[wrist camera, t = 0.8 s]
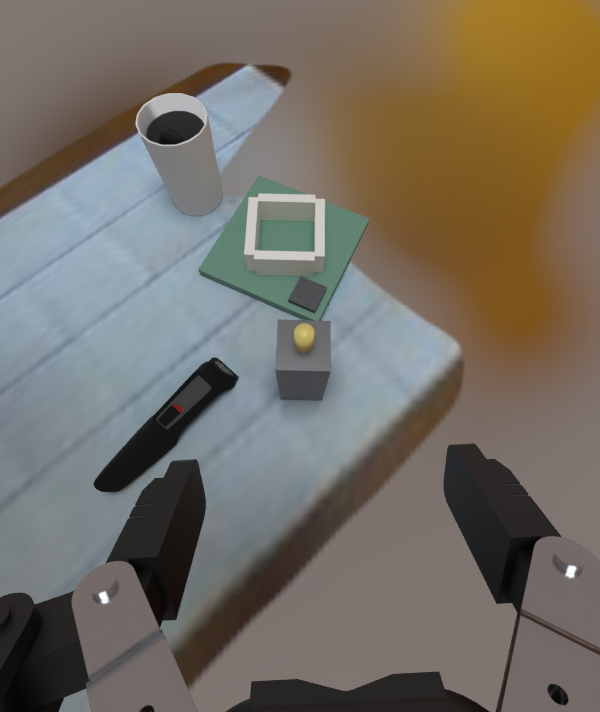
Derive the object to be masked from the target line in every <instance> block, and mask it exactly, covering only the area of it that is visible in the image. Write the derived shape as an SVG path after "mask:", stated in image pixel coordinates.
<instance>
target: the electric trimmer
mask: <svg viewBox="0 0 600 712" xmlns="http://www.w3.org/2000/svg"><path fill="white" fill-rule="evenodd" d="M237 379H238V376H237V375H236V374H235V373H234V372H233V371H231V370H230V369H229V368H228V367H227V366H226V365H225V364H224V363H223V362H221V361H220V360H219V359H218V358H212V359H211V360H210V361H208V362H205V363H203V364H202V365H201V366H200V367H199V368H198V369H197V370H196V371H195V372H194V373H193V374H192V375H191V376H190V377H189V378H188V379H187V380H186V381H185V382H184V383H183V385H182V386H181V387H180V388H179V389H178V390H177V391H176V392H175V393H174V394H173V395H172V396H171V398H170V399H169V400H168V401H167V402H166V403H165V404H164V405H163V406H162V407H161V408H160V409H159V410H158V411H157V412H156V413H155V414H154V415H153V416H152V417H151V418H150V419H149V420H148V421H147V422H146V423H145V424H144V425H143V426H142V427H141V428H140V429H139V430H138V431H137V433H136V434H135V435H134V436H133V437H132V438H131V439H130V440H129V441H128V442H127V444H126V445H125V446H124V447H123V448H122V449H121V450H120V451H119V452H118V454H117V455H116V456H115V457H114V458H113V459H112V460H111V461H110V462H109V464H108V465H107V466H106V467H105V468H104V469H103V471H102V472H101V473H100V474H99V476H98V477H97V478H96V480H95V481H94V487H95V488H96V489H97V490H99V491H101V492H117V491H119V490H121V489H123V488H124V487H125V486H126V485H128V484H129V483H130V482H132V481H133V480H134V479H135V478H136V477H138V476H139V475H140V474H141V473H143V472H144V471H145V470H146V469H147V468H149V467H150V466H151V465H152V464H153V463H155V462H156V461H157V460H158V459H159V458H161V457H162V456H163V455H164V454H165V453H166V452H168V451H169V450H170V449H171V448H172V447H173V446H174V445H175V444H176V443H177V440H178V437H179V435H180V433H181V432H182V430H183V429H184V428H185V427H186V426H187V425H188V424H189V423H190V422H191V421H192V420H193V419H194V418H195V417H196V416H197V415H198V414H199V413H200V412H201V410H202V409H203V408H204V407H205V406H206V405H207V404H208V403H209V402H211V401H212V400H213V399H214V398H215V397H216V396H217V395H218V394H219V393H221V392H222V391H224V390H227V389H230V388H231V387H233V386H234V385H235V381H236V380H237Z"/></svg>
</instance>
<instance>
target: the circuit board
mask: <svg viewBox="0 0 600 712" xmlns="http://www.w3.org/2000/svg"><path fill="white" fill-rule="evenodd" d="M258 193H263V194H302V195H307V194H304V193H302V192H299V191H297V190H294V189H292V188H289V187H287V186H284V185H282V184H279V183H276V182H274V181H271V180H269V179H266V178H264V177H261V176H258V178H257V179H256V181H255V182H254V184H253V185H252V187H251V188H250V190H249V192H248V193H247V195H246V196H245V198H244V199H243V201H242V202H241V204H240V206H239V207H238V209H237V210H236V212H235V213H234V215H233V217H232V218H231V220H230V221H229V223H228V224H227V226H226V227H225V229H224V231H223V232H222V234H221V235H220V237H219V238H218V240H217V241H216V243H215V245H214V246H213V248H212V249H211V251H210V252H209V254H208V255H207V257H206V259H205V260H204V262H203V263H202V265H201V266H200V268H199V272H200V274H201V275H203V276H205V277H207V278H209V279H212V280H214V281H216V282H219V283H221V284H223V285H225V286H228V287H230V288H232V289H235V290H237V291H239V292H241V293H244V294H246V295H248V296H251V297H253V298H255V299H258V300H260V301H262V302H264V303H267V304H269V305H271V306H274V307H276V308H278V309H280V310H283V311H285V312H287V313H290V314H292V315H294V316H296V317H299V318H301V319H303V320H311V321H320V320H321V318H322V316H323V314H324V312H325V310H326V308H327V306H328V304H329V302H330V300H331V298H332V296H333V294H334V292H335V290H336V288H337V286H338V284H339V282H340V280H341V278H342V276H343V274H344V272H345V270H346V268H347V266H348V264H349V262H350V260H351V258H352V256H353V253H354V252H355V249H356V247H357V245H358V243H359V241H360V239H361V237H362V235H363V233H364V231H365V229H366V227H367V225H368V222H369V218H366V217H364V216H361V215H359V214H356V213H353V212H351V211H348V210H345V209H343V208H341V207H338V206H335V205H333V204H330V203H328V202H325V259H324V267H323V272H314V274H313V276H279V275H257V273H256V271H248V270H247V265H246V261H245V256H244V249H245V236H246V224H247V212H248V199H249V197H258ZM315 199H318V198H315ZM258 250H260V251H300V252H314V221H279V220H260V234H259V249H258Z"/></svg>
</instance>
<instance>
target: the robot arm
mask: <svg viewBox="0 0 600 712" xmlns="http://www.w3.org/2000/svg"><path fill="white" fill-rule="evenodd" d="M444 494H445V498H446V501H447V503H448V506H449V508H450V510H451V512H452V513H453V516H454V518H455V520H456V522H457V524H458V526H459V528H460V530H461V532H462V534H463V536H464V538H465V540H466V542H467V545H468V547H469V549H470V551H471V553H472V555H473V557H474V558H475V561H476V562H477V565H478V567H479V569H480V571H481V573H482V575H483V577H484V579H485V581H486V583H487V585H488V587H489V589H490V591H491V593H492V595H493V597H494V600H495V601H496V603H497V604H501V603H513V605H514V607H515V609H516V611H517V617H516V621H515V626H514V631H513V635H512V640H511V644H510V649H509V654H508V659H507V663H506V668H505V673H504V677H503V682H502V686H501V691H500V695H499V700H498V703H497V708H496V712H600V561H599V560H598V559H597V557H596V556H594V554H593V553H591V552H590V551H589V550H588V549H586V548H585V547H583V546H581V545H580V544H578V543H576V542H574V541H571V540H569V539H566V538H562V537H561V536H560V534H559V533H558V532H557V530H556V529H555V528H554V526H553V525H552V524H551V522H550V521H549V520H548V519H547V517H546V516H545V515H544V513H543V512H542V511H541V510H540V508H539V507H538V506H537V504H536V503H535V502H534V501H533V499H532V498H531V497H530V496H528V493H527V492H526V490H525V489H524V488H523V486H522V485H520V482H519V481H518V480H517V479H516V477H515V476H514V475H513V473H512V472H511V471H510V470H509V469H508V468H506V467H505V466H504V465H502V464H501V463H499V462H498V461H497V460H495V459H486V458H485V457H484V455H483V454H482V452H481V451H480V450H479V448H478V447H477V445H475V444H458V445H449V446H448V449H447V457H446V465H445V474H444ZM135 505H136V506H135V507H134V508H133V510H132V512H131V514H130V518H129V519H128V520H127V522H126V524H125V526H124V528H123V530H122V532H121V534H120V536H119V538H118V540H117V542H116V544H115V546H114V548H113V550H112V552H111V554H110V556H109V558H108V560H107V561H106V563H105V564H103V565H101V566H99V567H97V568H95V569H94V570H92V571H91V572H90V573H88V574H87V575H86V576H85V577H84V578H83V579H82V580H81V581H80V583H79V584H78V585H77V587H76V589H75V591H72V592H70V593H67V594H65V595H62V596H59V597H56V598H53V599H50V600H47V601H44V602H41V603H38V604H34V602H33V600H32V598H31V597H30V596H29V595H27V594H25V593H12V594H8V595H5V596H2V597H0V712H58V711H59V709H60V706H61V704H62V701H63V699H64V697H66V696H69V695H71V694H74V693H76V692H78V691H81V690H83V689H87V694H88V699H89V704H90V708H91V712H197V709H196V707H195V705H194V702H193V700H192V698H191V695H190V693H189V691H188V688H187V686H186V684H185V682H184V679H183V677H182V675H181V672H180V670H179V668H178V665H177V663H176V661H175V658H174V656H173V654H172V652H171V649H170V647H169V645H168V642H167V640H166V638H165V636H164V634H163V632H162V630H160V626H161V623H162V621H165V620H176V618H177V615H178V611H179V607H180V604H181V600H182V597H183V593H184V589H185V586H186V582H187V578H188V575H189V571H190V567H191V564H192V560H193V557H194V553H195V549H196V546H197V542H198V538H199V535H200V531H201V527H202V524H203V520H204V516H205V510H206V499H205V493H204V488H203V483H202V478H201V473H200V469H199V464H198V461H197V460H196V459H194V460H177V461H172V462H171V463H170V465H169V467H168V470H167V472H166V474H165V476H164V478H155V479H154V480H153V481H152V482H151V483H150V484H149V485H148V486H147V487H146V488H145V489H143V490H142V492H141V494H140V496H139V498H138V500H137V502H136V504H135ZM226 712H489V711H488V710H486V709H485V708H483V707H482V706H480V705H479V704H478V703H476V702H474V701H472V700H471V699H469V698H467V697H465V696H463V695H460V694H458V693H456V692H453V691H450V690H447V689H444V686H443V683H442V680H441V676H440V673H439V672H425V673H424V672H423V673H404V674H392V675H389V676H387V677H384V678H381V679H379V680H376V681H374V682H371V683H369V684H366V685H364V686H361V687H358V688H356V689H354V690H350V691H341V690H337V689H333V688H329V687H325V686H321V685H318V684H314V683H310V682H306V681H303V680H299V679H291V680H272V681H253V682H251V695H250V699H248V700H245V701H243V702H241V703H239V704H237V705H235V706H234V707H232V708H231V709H229V710H228V711H226Z"/></svg>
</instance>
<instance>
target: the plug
mask: <svg viewBox="0 0 600 712" xmlns="http://www.w3.org/2000/svg"><path fill="white" fill-rule="evenodd" d="M330 372H331V353H330V321H311V320H278V329H277V351H276V375H277V380H278V386H279V392H280V397H281V399H285V400H322V398H323V395H324V391H325V388H326V385H327V381H328V378H329V375H330Z"/></svg>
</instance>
